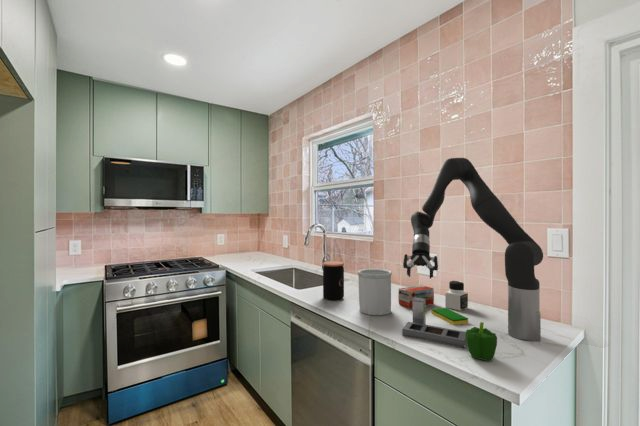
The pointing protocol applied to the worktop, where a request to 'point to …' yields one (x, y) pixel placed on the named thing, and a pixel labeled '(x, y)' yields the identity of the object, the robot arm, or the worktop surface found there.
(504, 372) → the worktop surface
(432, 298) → the medicine box
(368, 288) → the utensil holder
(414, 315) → the steel peg
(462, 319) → the dish sponge
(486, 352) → the bell pepper
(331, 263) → the coffee jar
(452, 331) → the peg hole block
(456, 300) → the medicine bottle
